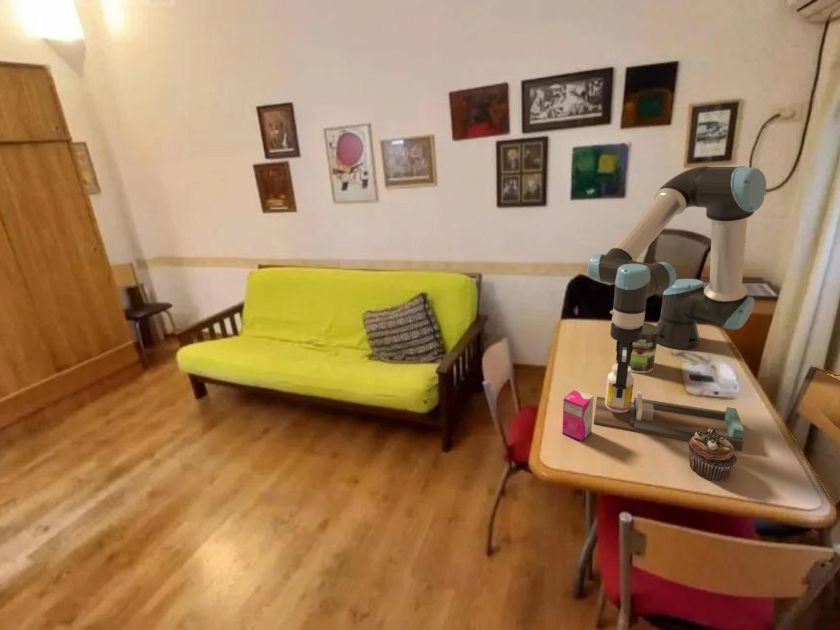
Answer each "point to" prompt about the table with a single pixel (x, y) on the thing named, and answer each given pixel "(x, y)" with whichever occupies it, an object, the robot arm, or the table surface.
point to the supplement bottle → (610, 391)
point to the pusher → (643, 409)
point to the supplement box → (577, 415)
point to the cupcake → (711, 455)
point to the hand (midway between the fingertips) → (618, 398)
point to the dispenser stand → (674, 421)
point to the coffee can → (644, 350)
